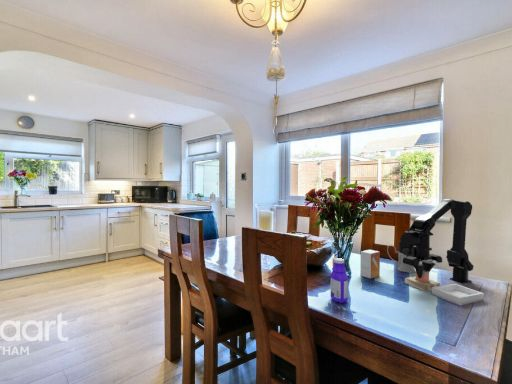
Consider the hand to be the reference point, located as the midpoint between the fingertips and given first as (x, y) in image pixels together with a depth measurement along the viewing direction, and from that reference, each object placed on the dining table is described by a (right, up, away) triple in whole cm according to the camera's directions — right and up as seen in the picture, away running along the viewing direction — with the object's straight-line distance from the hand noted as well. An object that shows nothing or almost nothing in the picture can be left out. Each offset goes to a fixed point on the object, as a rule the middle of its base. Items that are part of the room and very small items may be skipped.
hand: (422, 277), depth 130 cm
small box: (-19, -4, +15) cm, 24 cm away
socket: (0, -4, 0) cm, 4 cm away
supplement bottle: (-34, -4, +20) cm, 40 cm away
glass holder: (+3, -3, +25) cm, 26 cm away
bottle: (-44, -5, -16) cm, 47 cm away
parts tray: (+7, -4, -14) cm, 16 cm away
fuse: (0, -4, 0) cm, 4 cm away
